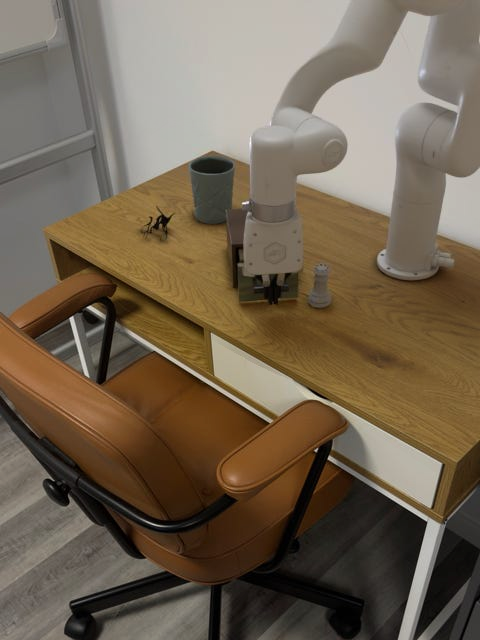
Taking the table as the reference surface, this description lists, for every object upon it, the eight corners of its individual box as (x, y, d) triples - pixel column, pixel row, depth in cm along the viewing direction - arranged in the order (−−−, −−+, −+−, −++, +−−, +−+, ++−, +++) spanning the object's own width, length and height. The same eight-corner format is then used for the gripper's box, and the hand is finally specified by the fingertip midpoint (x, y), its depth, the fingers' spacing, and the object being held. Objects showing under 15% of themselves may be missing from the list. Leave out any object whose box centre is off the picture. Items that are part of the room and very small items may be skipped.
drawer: (301, 310, 133) (302, 274, 127) (241, 315, 132) (240, 279, 127) (287, 262, 146) (288, 227, 140) (233, 265, 145) (231, 231, 140)
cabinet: (295, 283, 142) (296, 239, 135) (233, 287, 141) (231, 244, 134) (285, 247, 152) (286, 205, 146) (227, 251, 152) (225, 209, 145)
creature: (158, 249, 155) (183, 229, 158) (152, 230, 151) (177, 209, 154) (134, 238, 159) (158, 218, 162) (127, 219, 154) (152, 199, 157)
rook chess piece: (330, 310, 134) (332, 273, 129) (306, 308, 135) (308, 271, 129) (332, 297, 137) (334, 261, 132) (309, 295, 138) (311, 259, 133)
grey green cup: (186, 211, 166) (181, 160, 157) (225, 201, 169) (223, 151, 160) (203, 229, 159) (199, 177, 151) (243, 219, 162) (242, 168, 154)
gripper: (230, 220, 113) (233, 315, 126) (321, 214, 114) (316, 309, 126) (226, 199, 118) (229, 293, 131) (313, 193, 119) (309, 287, 132)
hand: (272, 300), depth 129 cm, fingers closed
